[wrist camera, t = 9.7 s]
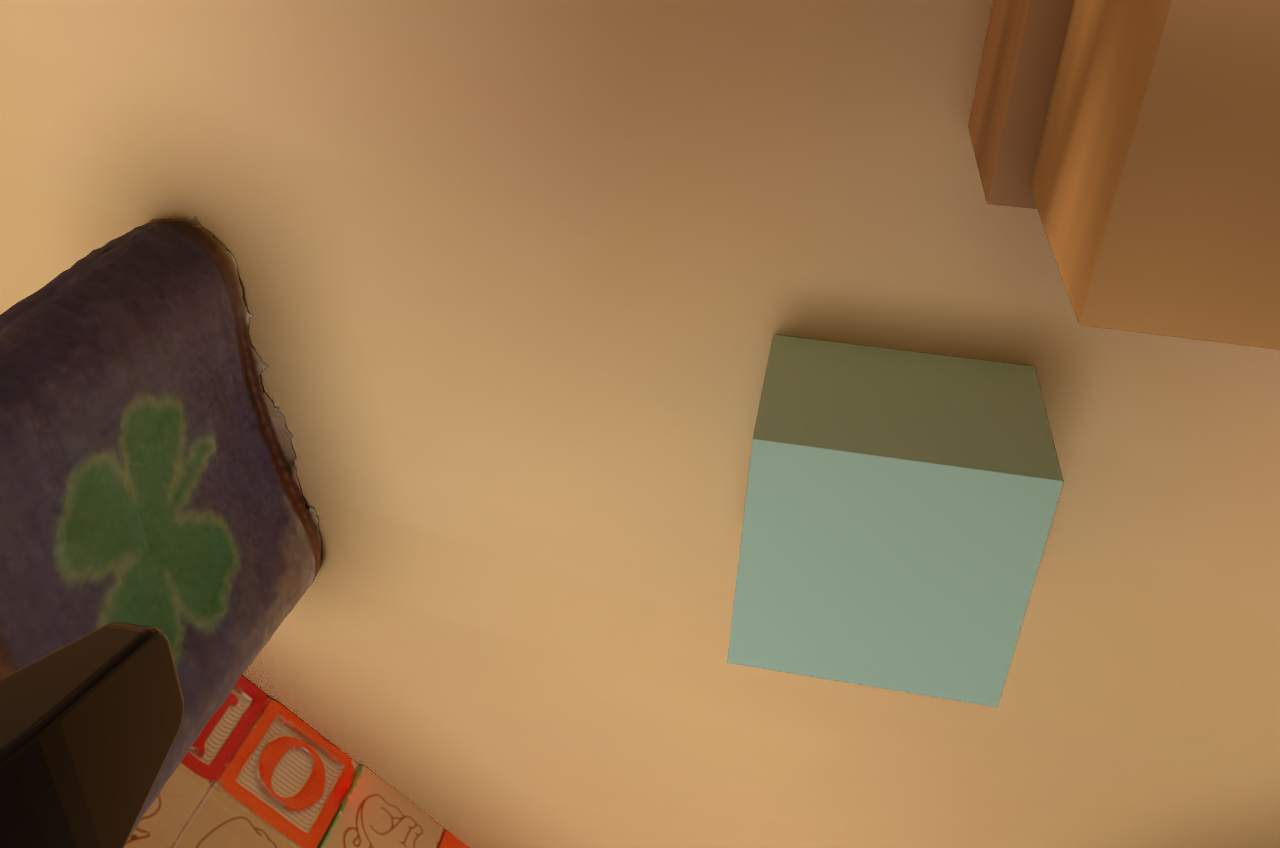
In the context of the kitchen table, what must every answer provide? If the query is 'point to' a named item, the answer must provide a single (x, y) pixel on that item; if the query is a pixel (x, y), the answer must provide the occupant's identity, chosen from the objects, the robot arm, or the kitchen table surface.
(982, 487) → the tower base
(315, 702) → the kitchen table surface
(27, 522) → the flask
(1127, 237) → the oak cube
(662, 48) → the kitchen table surface
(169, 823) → the stack of blocks
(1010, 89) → the walnut block
